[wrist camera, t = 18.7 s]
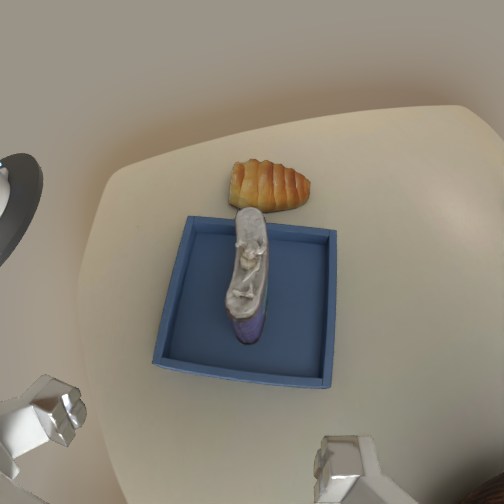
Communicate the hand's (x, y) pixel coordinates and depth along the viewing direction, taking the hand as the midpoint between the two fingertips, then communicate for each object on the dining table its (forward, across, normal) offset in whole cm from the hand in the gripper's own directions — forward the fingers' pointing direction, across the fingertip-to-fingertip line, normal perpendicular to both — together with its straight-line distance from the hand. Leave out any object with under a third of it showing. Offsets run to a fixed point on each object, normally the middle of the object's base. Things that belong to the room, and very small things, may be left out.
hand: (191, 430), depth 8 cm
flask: (+21, 0, +5) cm, 22 cm away
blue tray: (+21, 0, +6) cm, 22 cm away
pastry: (+31, 0, -4) cm, 31 cm away
